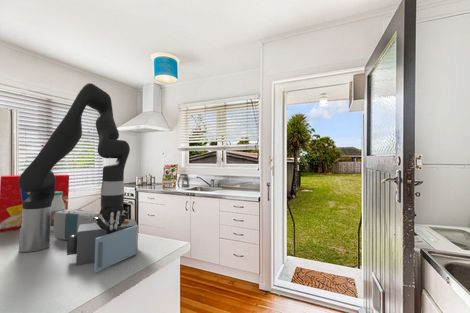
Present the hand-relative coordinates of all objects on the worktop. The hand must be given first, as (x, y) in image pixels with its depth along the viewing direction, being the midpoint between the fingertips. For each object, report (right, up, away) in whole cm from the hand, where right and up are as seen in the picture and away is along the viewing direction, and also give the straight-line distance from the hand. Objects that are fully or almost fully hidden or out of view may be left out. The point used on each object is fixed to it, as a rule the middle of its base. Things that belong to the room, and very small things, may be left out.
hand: (111, 239), depth 83 cm
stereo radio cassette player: (-28, -9, +22) cm, 37 cm away
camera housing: (-6, -8, +6) cm, 12 cm away
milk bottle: (-50, -8, +36) cm, 62 cm away
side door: (+3, -8, -1) cm, 8 cm away
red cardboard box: (-65, -8, +41) cm, 78 cm away
